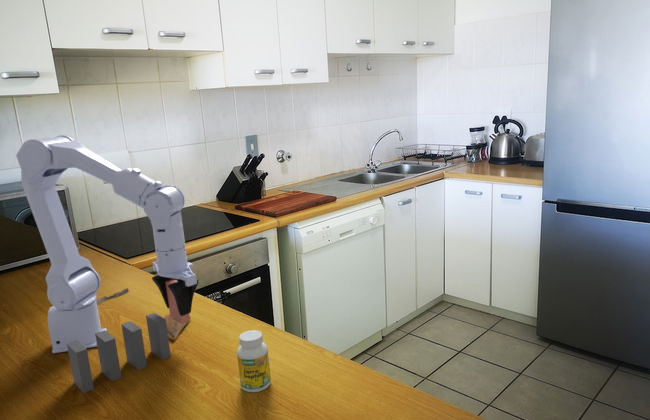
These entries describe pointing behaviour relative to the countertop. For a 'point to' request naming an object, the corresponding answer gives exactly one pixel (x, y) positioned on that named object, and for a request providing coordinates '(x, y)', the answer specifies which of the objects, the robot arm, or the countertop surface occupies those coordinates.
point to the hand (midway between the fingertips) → (178, 310)
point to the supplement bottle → (253, 362)
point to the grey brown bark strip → (111, 296)
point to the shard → (173, 327)
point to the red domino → (175, 305)
